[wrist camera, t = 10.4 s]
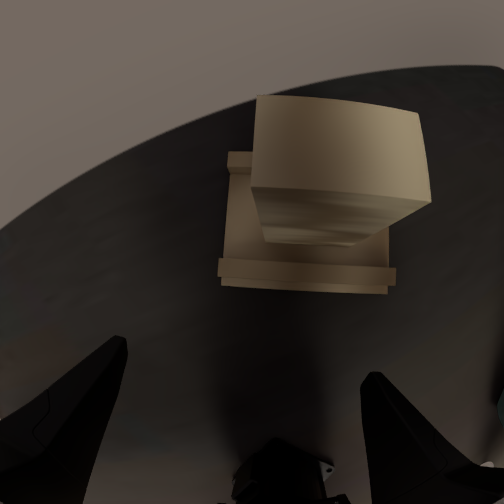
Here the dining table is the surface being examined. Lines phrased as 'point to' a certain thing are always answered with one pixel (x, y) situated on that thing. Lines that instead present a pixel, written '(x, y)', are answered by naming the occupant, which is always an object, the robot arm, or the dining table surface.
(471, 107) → the dining table surface
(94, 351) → the robot arm
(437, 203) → the dining table surface
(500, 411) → the flower pot
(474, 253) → the dining table surface
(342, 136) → the wooden block
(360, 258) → the wooden tray
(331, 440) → the dining table surface
